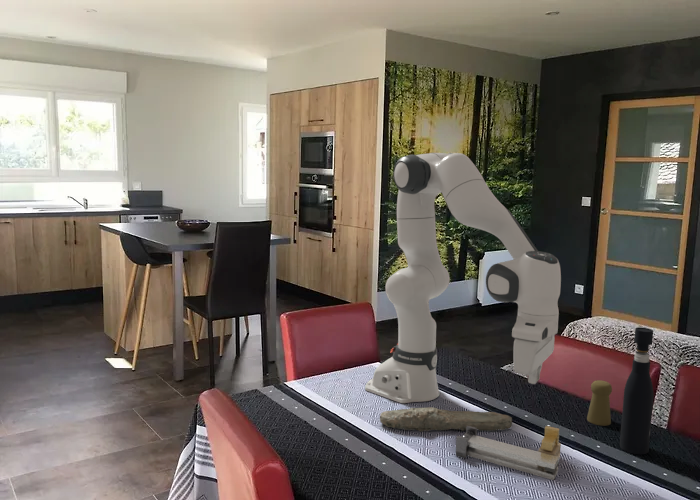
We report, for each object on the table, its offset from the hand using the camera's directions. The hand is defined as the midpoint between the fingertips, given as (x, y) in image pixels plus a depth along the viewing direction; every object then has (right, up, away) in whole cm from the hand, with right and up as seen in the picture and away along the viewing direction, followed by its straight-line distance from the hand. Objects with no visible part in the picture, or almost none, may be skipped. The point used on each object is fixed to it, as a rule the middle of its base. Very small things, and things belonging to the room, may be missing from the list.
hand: (533, 381), depth 136 cm
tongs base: (-6, -19, +1) cm, 20 cm away
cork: (+25, -16, +24) cm, 38 cm away
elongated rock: (-17, -17, +20) cm, 31 cm away
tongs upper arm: (-6, -17, +1) cm, 18 cm away
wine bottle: (+27, -18, +9) cm, 34 cm away
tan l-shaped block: (+4, -15, +1) cm, 16 cm away
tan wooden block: (+4, -19, +2) cm, 20 cm away
